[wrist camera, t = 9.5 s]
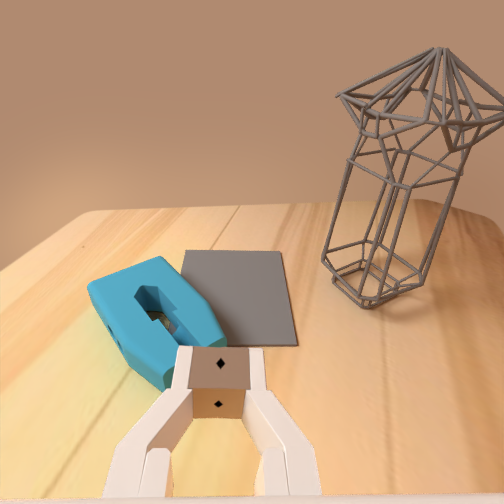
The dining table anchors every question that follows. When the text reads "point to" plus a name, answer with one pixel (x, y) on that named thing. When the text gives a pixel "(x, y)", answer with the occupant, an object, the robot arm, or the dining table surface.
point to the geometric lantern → (413, 73)
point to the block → (153, 332)
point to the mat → (243, 294)
